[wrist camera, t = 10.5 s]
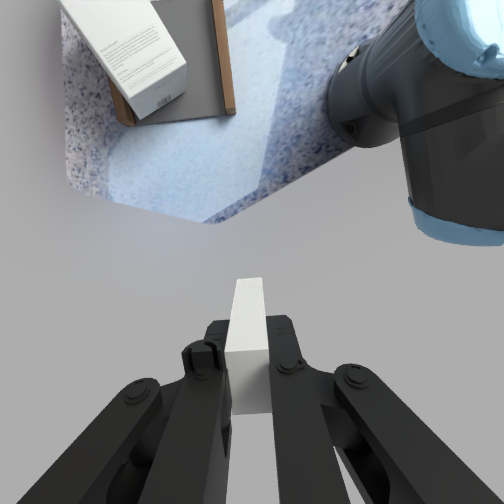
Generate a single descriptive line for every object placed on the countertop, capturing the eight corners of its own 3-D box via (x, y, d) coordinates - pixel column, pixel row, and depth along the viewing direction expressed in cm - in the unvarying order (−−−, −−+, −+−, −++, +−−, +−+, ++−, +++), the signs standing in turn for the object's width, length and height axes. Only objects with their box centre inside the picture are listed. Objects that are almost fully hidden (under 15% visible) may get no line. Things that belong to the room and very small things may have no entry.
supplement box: (187, 91, 38) (121, -17, 33) (188, 63, 30) (100, -88, 24) (140, 121, 37) (64, 15, 32) (127, 100, 29) (22, -48, 24)
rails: (222, -5, 35) (220, -22, 32) (236, 113, 39) (235, 107, 36) (101, 11, 35) (88, -5, 32) (127, 126, 39) (118, 121, 37)
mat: (211, -3, 35) (210, -7, 35) (225, 114, 39) (225, 113, 39) (112, 9, 35) (110, 6, 35) (137, 125, 39) (136, 124, 39)
